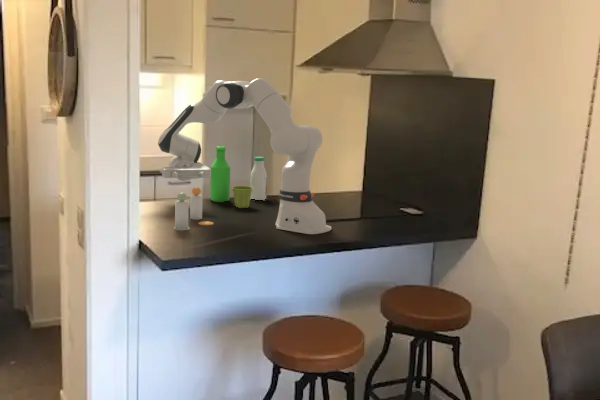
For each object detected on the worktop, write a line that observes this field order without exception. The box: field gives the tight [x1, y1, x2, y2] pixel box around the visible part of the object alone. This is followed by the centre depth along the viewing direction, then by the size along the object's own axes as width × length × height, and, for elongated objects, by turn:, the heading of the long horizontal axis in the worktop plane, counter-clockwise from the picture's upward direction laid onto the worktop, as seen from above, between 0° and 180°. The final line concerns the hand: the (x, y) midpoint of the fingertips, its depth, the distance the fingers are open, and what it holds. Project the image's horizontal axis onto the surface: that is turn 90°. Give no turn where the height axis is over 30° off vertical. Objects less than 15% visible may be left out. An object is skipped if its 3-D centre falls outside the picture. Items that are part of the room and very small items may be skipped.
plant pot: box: [231, 185, 253, 209], centre depth 283 cm, size 9×9×9 cm
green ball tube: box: [174, 191, 190, 231], centre depth 235 cm, size 5×5×13 cm
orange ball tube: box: [189, 186, 203, 221], centre depth 252 cm, size 5×5×13 cm
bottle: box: [209, 145, 231, 203], centre depth 292 cm, size 9×9×25 cm
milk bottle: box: [249, 156, 268, 201], centre depth 300 cm, size 8×8×20 cm
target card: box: [173, 221, 214, 231], centre depth 241 cm, size 10×20×1 cm, turn 141°
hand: (189, 175), depth 262 cm, fingers open, 8 cm apart
